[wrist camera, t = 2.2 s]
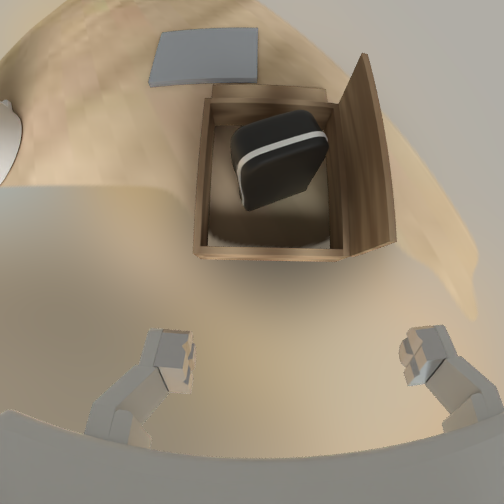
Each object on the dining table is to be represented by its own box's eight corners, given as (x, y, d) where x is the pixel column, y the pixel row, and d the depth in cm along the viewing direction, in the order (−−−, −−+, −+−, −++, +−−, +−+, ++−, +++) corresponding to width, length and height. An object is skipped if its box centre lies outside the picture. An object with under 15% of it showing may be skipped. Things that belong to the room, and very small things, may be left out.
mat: (150, 87, 33) (148, 82, 32) (163, 37, 34) (161, 32, 33) (256, 82, 33) (257, 77, 32) (257, 32, 34) (257, 27, 33)
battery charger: (293, 158, 31) (314, 96, 20) (308, 190, 31) (338, 139, 20) (230, 180, 31) (221, 123, 20) (244, 214, 31) (241, 170, 19)
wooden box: (201, 259, 30) (168, 236, 18) (213, 86, 33) (200, 8, 20) (340, 261, 30) (396, 241, 18) (329, 91, 33) (356, 18, 20)
